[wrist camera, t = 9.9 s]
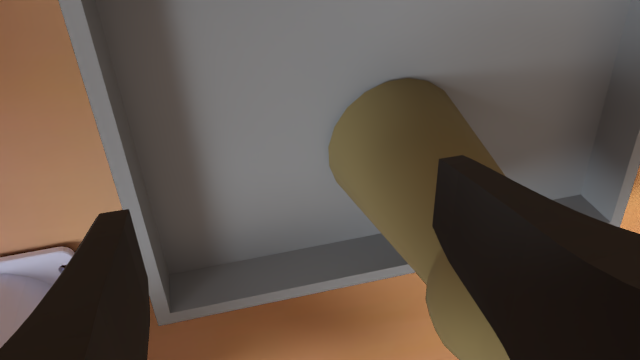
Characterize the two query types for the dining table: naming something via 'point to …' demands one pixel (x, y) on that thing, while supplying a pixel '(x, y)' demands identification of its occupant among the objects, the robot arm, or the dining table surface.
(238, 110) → the box
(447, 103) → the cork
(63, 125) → the dining table surface
